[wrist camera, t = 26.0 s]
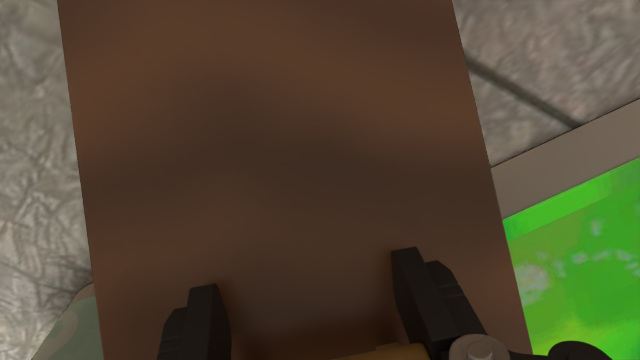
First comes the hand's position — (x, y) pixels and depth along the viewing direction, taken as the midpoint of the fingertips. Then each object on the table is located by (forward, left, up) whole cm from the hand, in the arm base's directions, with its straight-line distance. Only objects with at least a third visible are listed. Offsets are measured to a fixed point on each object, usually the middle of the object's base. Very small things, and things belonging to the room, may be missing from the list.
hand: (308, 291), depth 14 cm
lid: (-2, 0, -3) cm, 4 cm away
